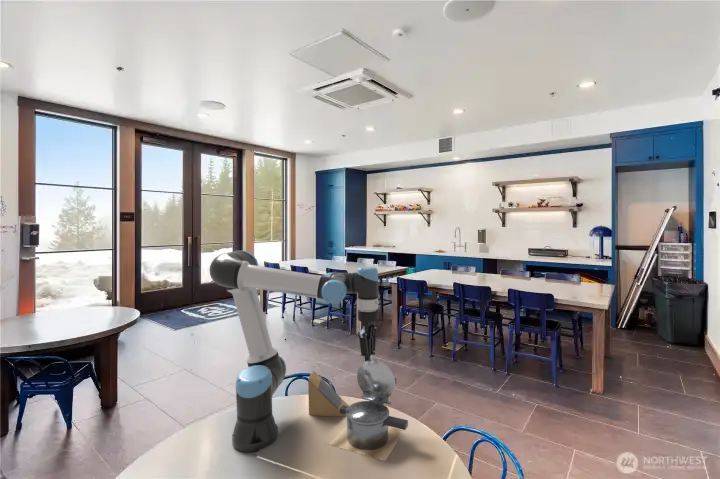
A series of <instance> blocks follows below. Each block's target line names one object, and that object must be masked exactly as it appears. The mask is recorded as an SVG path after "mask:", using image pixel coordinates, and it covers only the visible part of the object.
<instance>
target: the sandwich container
mask: <svg viewBox="0 0 720 479" xmlns="http://www.w3.org/2000/svg"><path fill="white" fill-rule="evenodd" d="M307 383H308V385H307V386H308V415H309V416H323V417H346V415H345V414H341V413H340V408H341V407H342V406H343V405H344V406H348V407H349V406H350V405H349V404H348V403H347V402H346V401H345V400H344V399H343V398H342V397H341V396H340V395H338V393H337V392H336V391H335V390H334V389H333V388H332V387H331V386H330V385H329V384H328V383H327V382H326V381H325V380H324V379H323V378H322V377H321V376H320V375H319V374H318V373H317V372H316V371H315V370H314V369H313V370H312V372H311V373H310V375H309V376H308V379H307Z"/></svg>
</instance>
